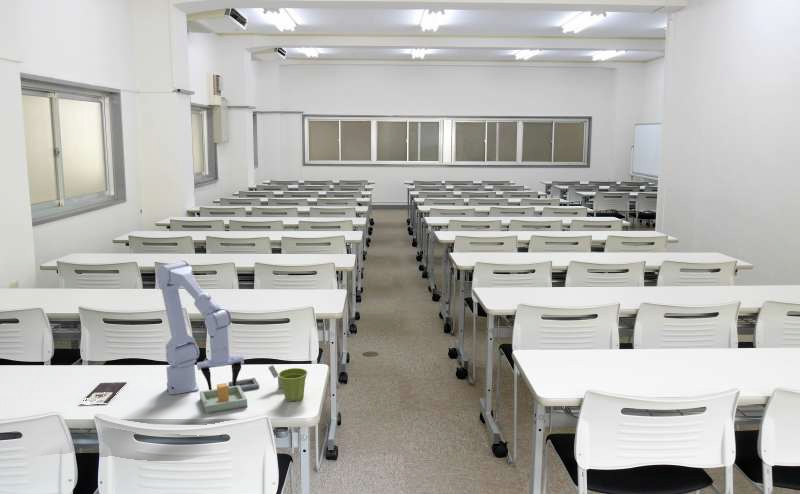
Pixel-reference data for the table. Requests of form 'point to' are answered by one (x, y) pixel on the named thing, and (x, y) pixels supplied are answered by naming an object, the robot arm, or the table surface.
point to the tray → (213, 405)
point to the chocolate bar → (109, 391)
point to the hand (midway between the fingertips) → (222, 387)
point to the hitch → (246, 381)
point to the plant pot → (293, 383)
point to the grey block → (275, 375)
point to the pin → (222, 392)
